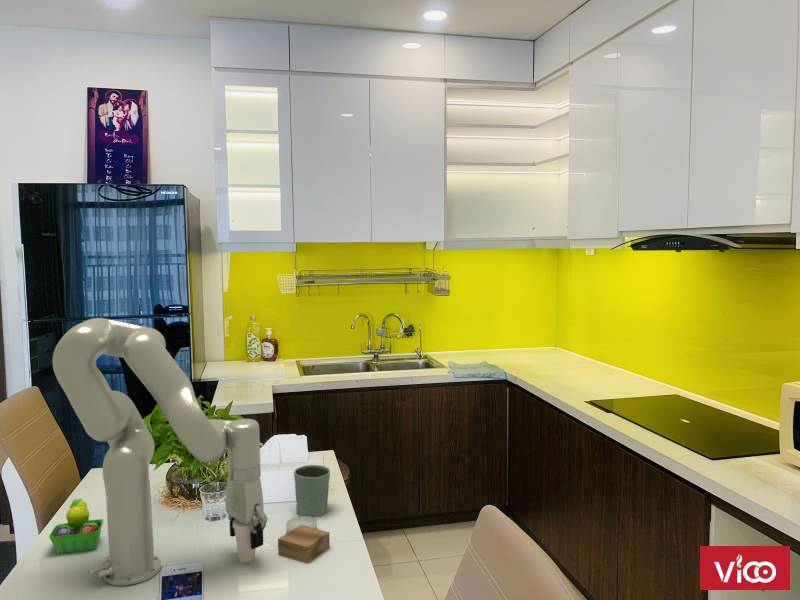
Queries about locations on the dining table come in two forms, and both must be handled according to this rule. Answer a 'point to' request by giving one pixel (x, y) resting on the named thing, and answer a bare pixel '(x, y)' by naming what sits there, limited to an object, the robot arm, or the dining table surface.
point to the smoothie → (244, 540)
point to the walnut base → (303, 543)
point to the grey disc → (300, 522)
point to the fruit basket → (76, 530)
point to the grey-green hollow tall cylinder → (311, 490)
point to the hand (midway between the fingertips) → (246, 540)
